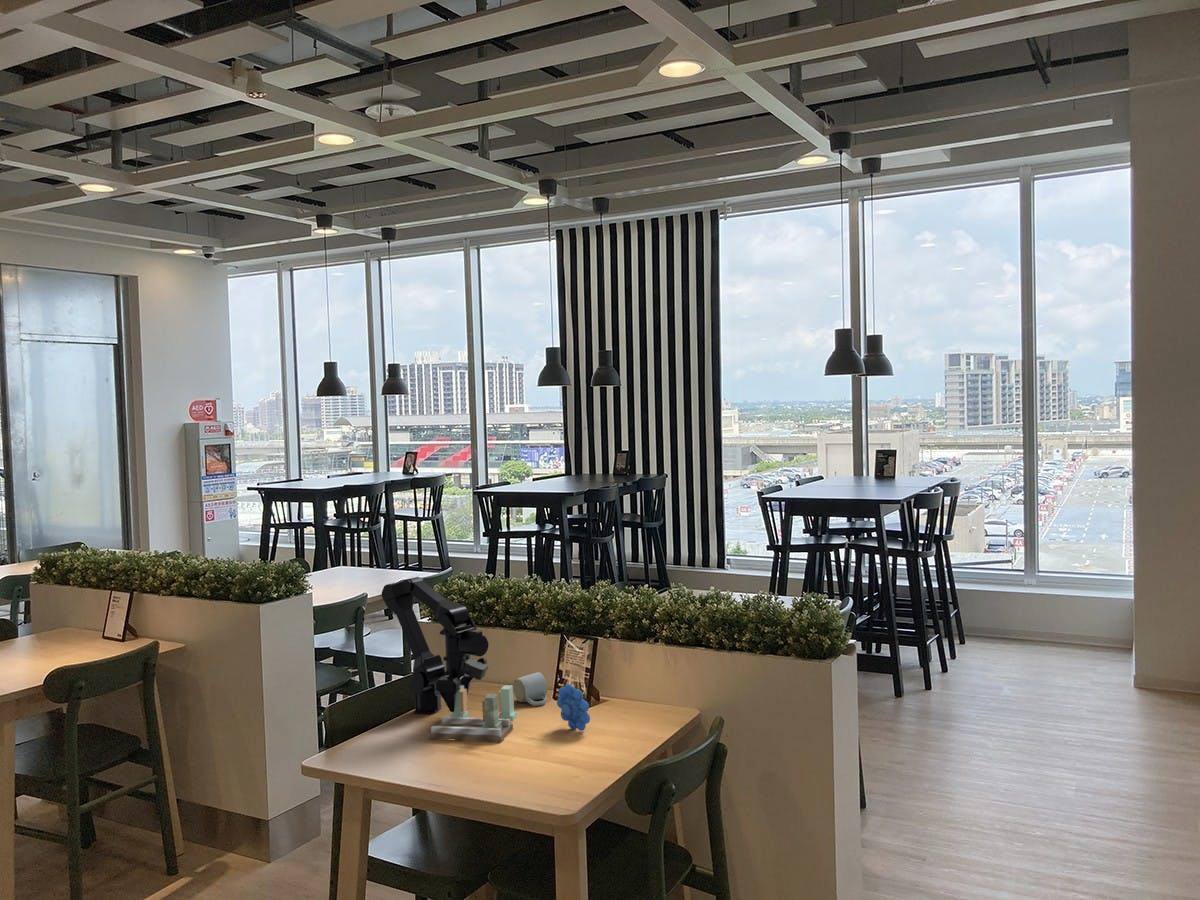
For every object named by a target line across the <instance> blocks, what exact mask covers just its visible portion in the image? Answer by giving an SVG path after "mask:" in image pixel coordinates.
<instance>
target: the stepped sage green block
mask: <svg viewBox="0 0 1200 900" xmlns="http://www.w3.org/2000/svg"><path fill="white" fill-rule="evenodd" d="M460 688H461V689H460V690H459V691H458V692H457V693H456V703H455V711H454V712H451V713H450V714H449V717H468V716H469V710H467V709H468V696H467V689H464V685H460Z"/></svg>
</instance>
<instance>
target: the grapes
mask: <svg viewBox="0 0 1200 900" xmlns="http://www.w3.org/2000/svg"><path fill="white" fill-rule="evenodd" d="M558 695H559V697H558V698H557V700H556V705H557V706H558V708H559V709H561V711H560V717H561V719H562V720H563V721H566V722H567V725H568V727H569V728H570V729H571V730H578V731H581V732H583V731H585V729H586V725H587V724H589V723H590V721H591V715H590V714H589V713H588V711H589V709H590V706H589V705H590V704H589V703H588V701H587V700H585V699H584V698H583V697H584V694H583V692H582V690H580V689H578V688H575V687H574V685H572V684H570V683H567V684H566V685H565V686H563V687H560V688H559V689H558Z"/></svg>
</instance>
